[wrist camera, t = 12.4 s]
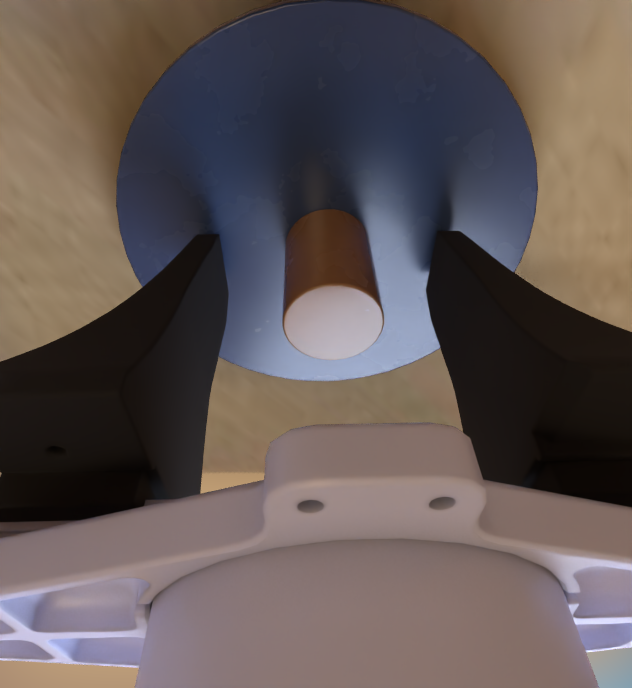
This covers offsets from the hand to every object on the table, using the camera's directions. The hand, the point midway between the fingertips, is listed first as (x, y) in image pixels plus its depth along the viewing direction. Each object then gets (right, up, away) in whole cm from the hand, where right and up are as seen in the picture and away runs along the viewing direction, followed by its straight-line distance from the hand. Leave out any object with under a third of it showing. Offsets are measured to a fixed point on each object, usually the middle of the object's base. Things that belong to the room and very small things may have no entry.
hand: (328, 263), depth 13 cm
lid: (0, +1, 0) cm, 1 cm away
